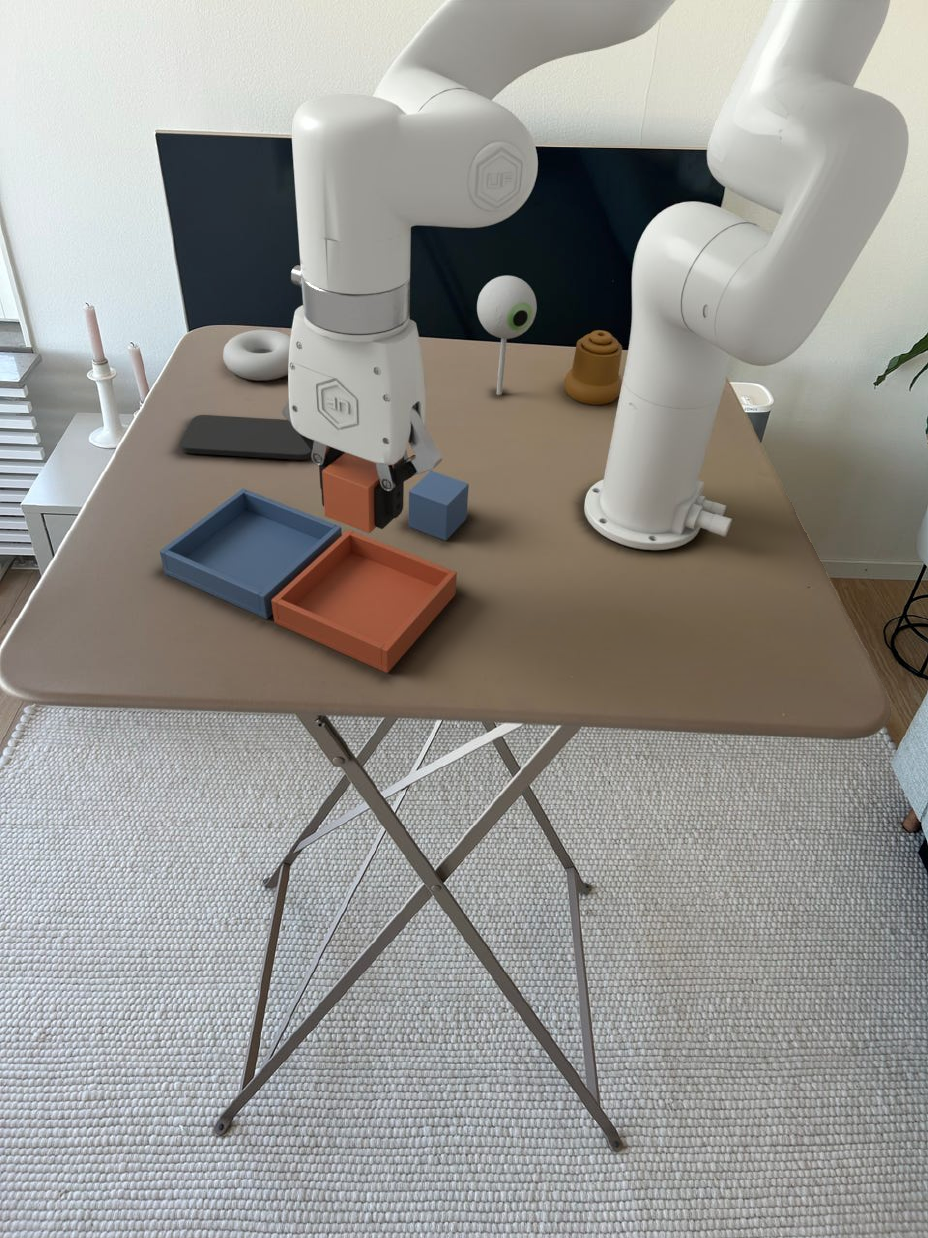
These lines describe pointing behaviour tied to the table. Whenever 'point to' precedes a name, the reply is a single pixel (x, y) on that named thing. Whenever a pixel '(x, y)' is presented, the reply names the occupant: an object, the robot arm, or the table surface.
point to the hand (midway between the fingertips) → (361, 507)
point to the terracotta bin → (365, 599)
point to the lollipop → (506, 312)
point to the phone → (244, 437)
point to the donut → (258, 355)
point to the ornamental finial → (595, 369)
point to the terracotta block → (351, 491)
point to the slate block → (438, 505)
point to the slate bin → (248, 550)
